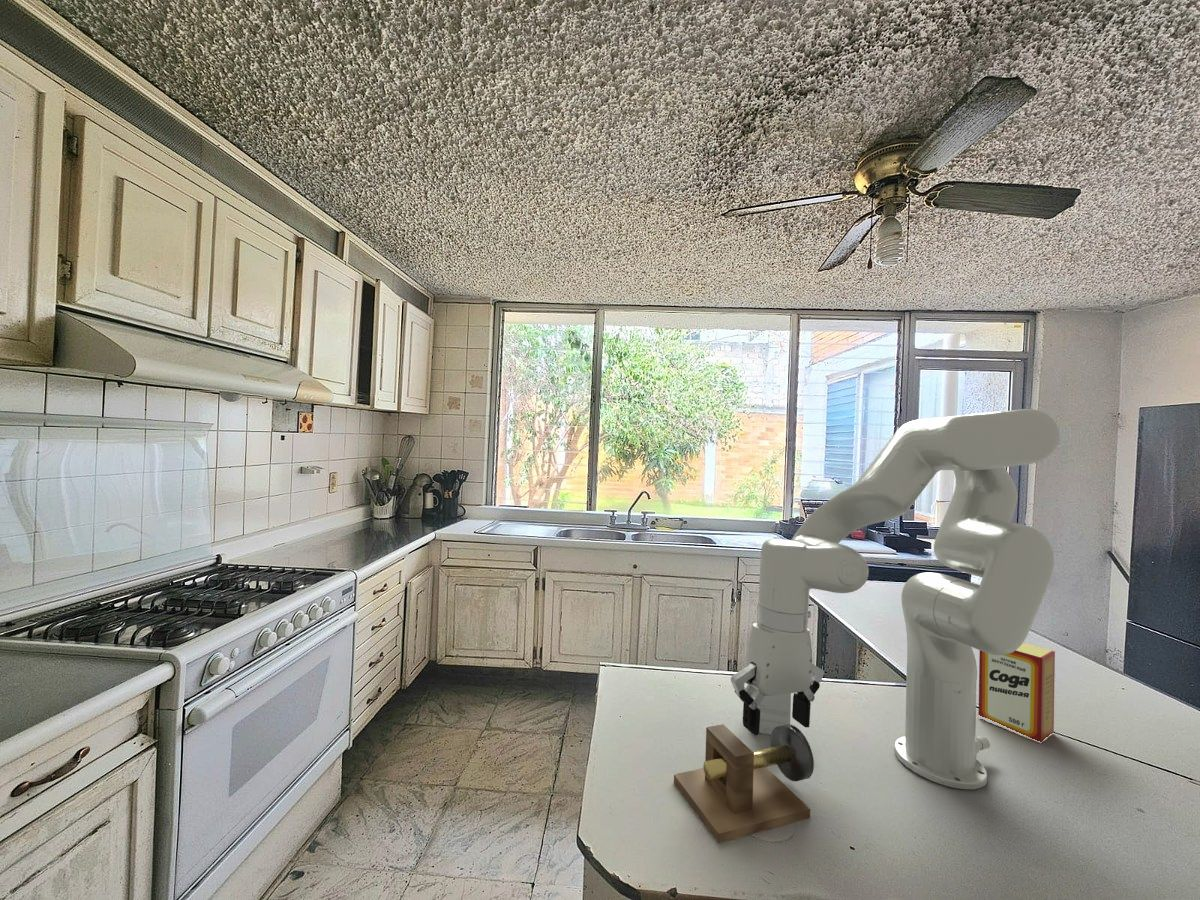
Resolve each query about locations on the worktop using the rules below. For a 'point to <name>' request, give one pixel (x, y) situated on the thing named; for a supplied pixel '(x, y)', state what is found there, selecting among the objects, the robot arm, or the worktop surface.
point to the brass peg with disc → (776, 756)
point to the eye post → (738, 791)
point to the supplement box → (774, 712)
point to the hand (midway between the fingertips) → (776, 726)
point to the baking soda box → (1019, 690)
